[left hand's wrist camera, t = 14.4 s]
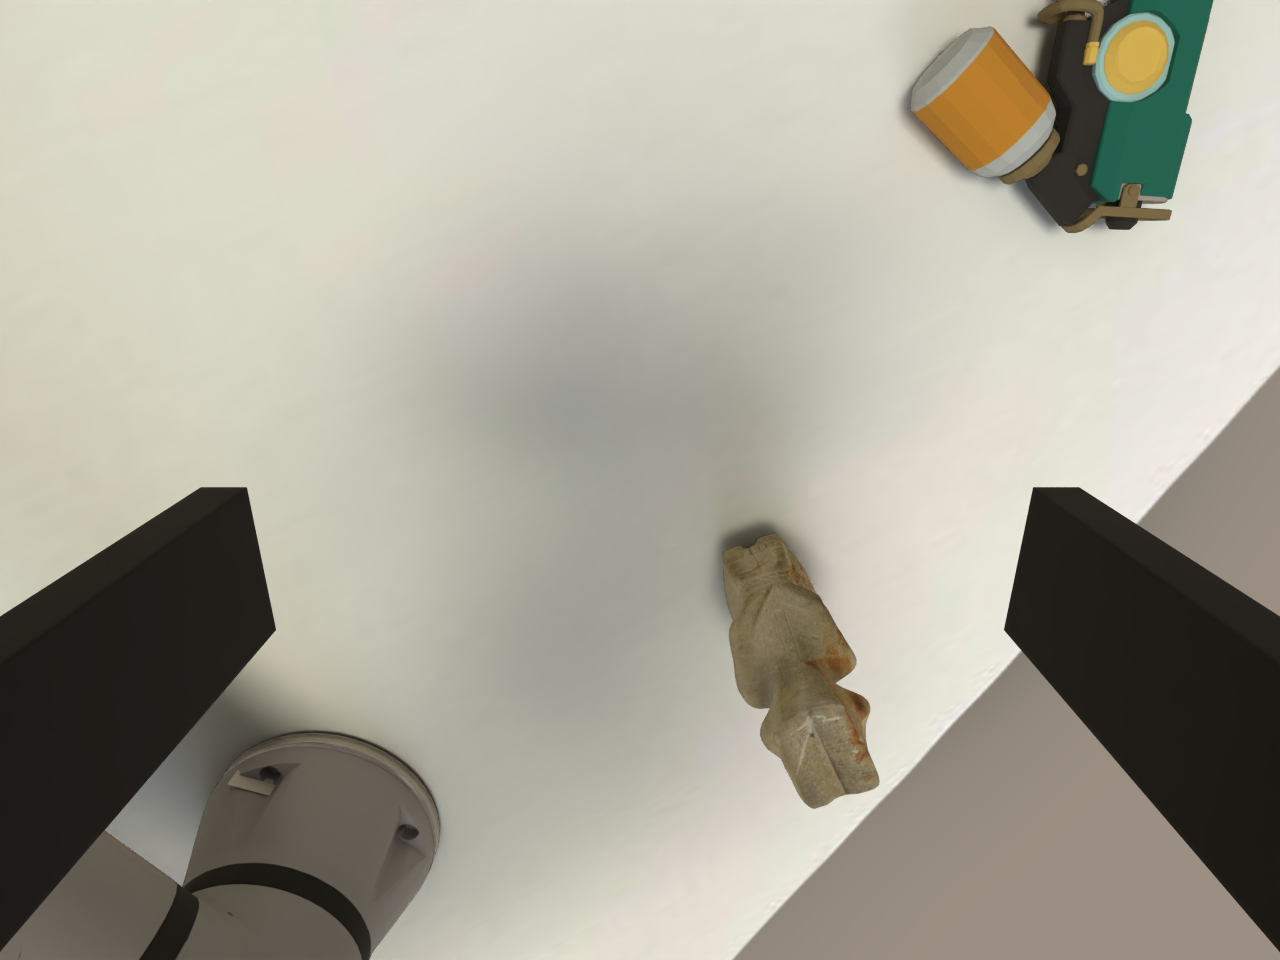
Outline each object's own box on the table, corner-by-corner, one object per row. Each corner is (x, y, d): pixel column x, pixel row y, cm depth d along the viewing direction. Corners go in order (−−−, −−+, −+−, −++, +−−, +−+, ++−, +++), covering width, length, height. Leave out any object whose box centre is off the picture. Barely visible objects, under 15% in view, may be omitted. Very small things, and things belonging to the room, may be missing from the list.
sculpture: (735, 640, 45) (778, 836, 31) (699, 540, 43) (728, 704, 29) (826, 612, 44) (912, 800, 30) (795, 510, 42) (873, 663, 28)
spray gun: (1006, -255, 31) (1297, -108, 33) (847, 155, 35) (1111, 259, 37) (1069, -331, 26) (1395, -158, 29) (879, 143, 31) (1174, 261, 33)
